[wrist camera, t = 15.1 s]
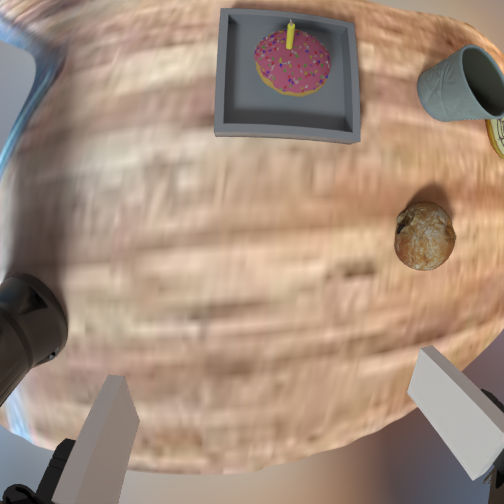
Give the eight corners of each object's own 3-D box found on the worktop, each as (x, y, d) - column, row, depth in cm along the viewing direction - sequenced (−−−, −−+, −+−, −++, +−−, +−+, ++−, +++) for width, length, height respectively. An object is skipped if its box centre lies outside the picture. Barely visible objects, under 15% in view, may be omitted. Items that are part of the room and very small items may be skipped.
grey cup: (459, 133, 35) (512, 129, 24) (411, 116, 34) (465, 103, 23) (456, 78, 33) (504, 63, 21) (409, 57, 32) (456, 31, 20)
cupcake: (238, 79, 31) (241, 37, 20) (276, 34, 30) (294, -15, 18) (296, 117, 33) (326, 91, 21) (331, 71, 32) (370, 34, 20)
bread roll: (400, 194, 41) (408, 189, 33) (456, 214, 38) (474, 214, 30) (383, 255, 43) (387, 263, 36) (439, 274, 40) (453, 285, 32)
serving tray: (215, 136, 34) (214, 132, 30) (221, 21, 30) (220, 8, 26) (349, 144, 35) (360, 141, 32) (344, 33, 31) (353, 23, 27)
